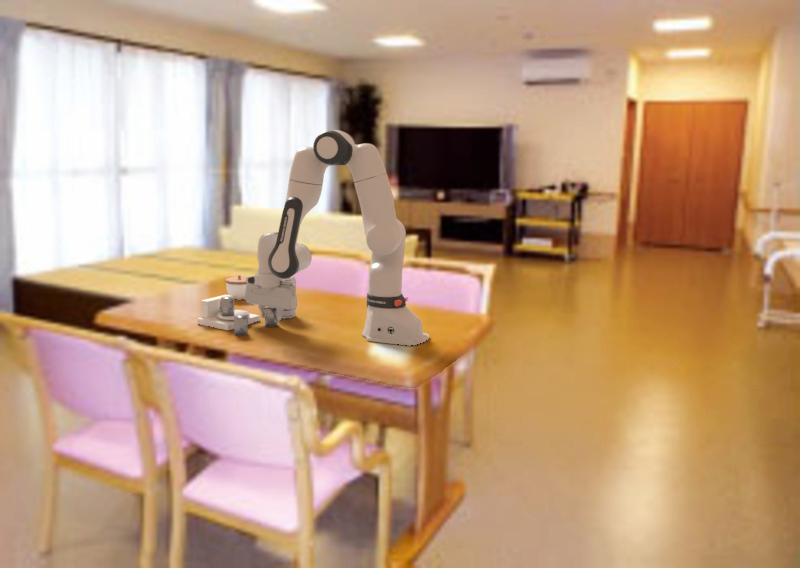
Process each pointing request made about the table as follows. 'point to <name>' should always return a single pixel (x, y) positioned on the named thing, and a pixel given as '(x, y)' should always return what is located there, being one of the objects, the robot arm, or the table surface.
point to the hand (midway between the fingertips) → (271, 318)
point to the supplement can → (293, 312)
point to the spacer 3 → (270, 316)
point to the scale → (213, 314)
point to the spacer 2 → (240, 325)
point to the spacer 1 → (227, 306)
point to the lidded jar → (236, 287)
